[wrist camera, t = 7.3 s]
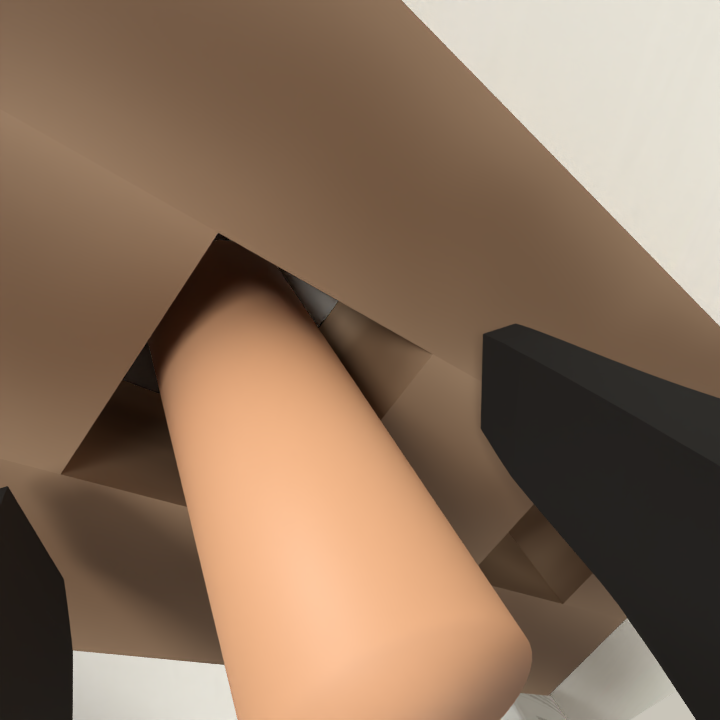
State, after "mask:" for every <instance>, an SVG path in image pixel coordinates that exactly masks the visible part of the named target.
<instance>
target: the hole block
mask: <svg viewBox="0 0 720 720" xmlns="http://www.w3.org/2000/svg"><path fill="white" fill-rule="evenodd" d="M218 233H220V234H221V235H223V236H225V237H227V238H229V239H230V240H232V241H234V242H236V243H237V244H239V245H241V246H243V247H244V248H246V249H248V250H250V251H252V252H253V253H255V254H257V255H259V256H260V257H262V258H264V259H266V260H267V261H269V262H271V263H273V264H274V265H276V266H278V267H280V268H282V269H283V270H285V271H287V272H289V273H290V274H292V275H294V276H296V277H297V278H299V279H301V280H303V281H304V282H306V283H308V284H310V285H312V286H313V287H315V288H317V289H319V290H320V291H322V292H324V293H326V294H327V295H329V296H331V297H333V298H334V299H336V300H338V303H337V304H336V306H335V307H334V308H333V310H332V311H331V312H330V314H329V315H328V317H327V318H326V319H325V321H324V322H323V323H322V325H321V326H320V327H319V330H320V331H321V333H322V334H323V336H324V337H325V339H326V340H327V342H328V343H329V345H330V346H331V348H332V349H333V351H334V352H335V354H336V355H337V357H338V358H339V360H340V361H341V363H342V364H343V366H344V367H345V369H346V370H347V371H348V373H349V374H350V376H351V377H352V379H353V380H354V382H355V383H356V385H357V386H358V388H359V389H360V391H361V392H362V394H363V395H364V397H365V398H366V400H367V401H368V403H369V404H370V406H371V407H372V409H373V410H374V412H375V413H376V415H377V416H378V418H379V419H380V421H381V422H382V424H383V425H384V426H385V428H386V429H387V431H388V432H389V434H390V435H391V437H392V438H393V440H394V441H395V443H396V444H397V446H398V447H399V449H400V450H401V452H402V453H403V455H404V456H405V458H406V459H407V461H408V462H409V464H410V465H411V467H412V468H413V470H414V471H415V473H416V474H417V476H418V477H419V479H420V480H421V481H422V483H423V484H424V486H425V487H426V489H427V490H428V492H429V493H430V495H431V496H432V498H433V499H434V501H435V502H436V504H437V505H438V507H439V508H440V510H441V511H442V513H443V514H444V516H445V517H446V519H447V520H448V522H449V523H450V525H451V526H452V528H453V529H454V531H455V532H456V534H457V535H458V537H459V538H460V539H461V541H462V542H463V544H464V545H465V547H466V548H467V550H468V551H469V553H470V554H471V556H472V557H473V559H474V560H475V562H476V563H477V565H478V566H479V568H480V569H481V571H482V572H483V574H484V575H485V577H486V578H487V580H488V581H489V583H490V584H491V586H492V587H493V589H494V590H495V592H496V593H497V594H498V596H499V597H500V599H501V600H502V602H503V603H504V605H505V606H506V608H507V609H508V611H509V612H510V614H511V615H512V617H513V618H514V620H515V621H516V623H517V624H518V626H519V627H520V629H521V630H522V632H523V633H524V635H525V636H526V638H527V639H528V641H529V643H530V646H531V650H532V664H531V669H530V673H529V676H528V678H527V681H526V683H525V685H524V687H523V689H522V691H521V693H525V694H535V695H546V696H548V695H549V694H550V693H551V692H552V691H553V690H554V689H555V688H556V687H557V686H558V685H559V684H560V683H562V682H563V681H564V680H565V679H566V678H567V677H568V676H569V675H570V674H571V673H572V672H573V671H574V670H575V669H576V668H577V667H578V666H579V665H580V664H581V663H582V662H583V661H584V660H585V659H586V658H587V657H588V656H589V655H590V654H591V653H592V652H593V651H594V650H595V649H596V648H597V647H598V646H599V645H600V644H601V643H602V642H603V641H604V640H605V639H606V638H607V637H608V636H609V635H610V634H611V633H612V632H613V631H614V630H615V629H616V628H617V627H618V626H619V625H620V624H621V623H622V622H623V621H624V620H625V619H626V618H627V617H626V615H625V614H624V612H623V611H622V609H621V608H620V607H619V605H618V604H617V603H616V601H615V600H614V599H613V597H612V596H611V595H610V594H609V592H608V591H607V590H606V589H605V587H604V586H603V585H602V584H601V582H600V581H599V580H598V579H597V577H596V576H595V575H594V574H593V573H592V572H591V570H590V569H589V568H588V567H587V566H586V565H585V563H584V562H583V561H582V560H581V559H580V558H579V556H578V555H577V554H576V553H575V552H574V551H573V549H572V548H571V547H570V546H569V545H568V544H567V542H566V541H565V540H564V539H563V538H562V537H561V535H560V534H559V533H558V532H557V531H556V529H555V528H554V527H553V526H552V525H551V524H550V522H549V521H548V520H547V519H546V518H545V517H544V515H543V514H542V513H541V512H540V511H539V510H538V508H537V507H536V506H535V505H534V504H533V502H532V501H531V500H530V499H529V498H528V496H527V495H526V494H525V493H524V492H523V490H522V489H521V488H520V487H519V486H518V484H517V483H516V482H515V481H514V480H513V478H512V477H511V476H510V474H509V473H508V471H507V470H506V468H505V467H504V465H503V463H502V462H501V460H500V459H499V457H498V456H497V454H496V453H495V451H494V450H493V448H492V446H491V445H490V443H489V441H488V440H487V438H486V437H485V435H484V433H483V432H482V430H481V390H482V351H483V334H484V333H487V332H490V331H493V330H496V329H499V328H503V327H506V326H509V325H512V324H515V323H516V324H519V325H523V326H526V327H529V328H532V329H534V330H537V331H540V332H542V333H545V334H548V335H550V336H553V337H556V338H558V339H561V340H563V341H566V342H568V343H571V344H573V345H576V346H578V347H581V348H583V349H586V350H589V351H591V352H594V353H596V354H599V355H601V356H604V357H606V358H609V359H611V360H614V361H616V362H619V363H622V364H624V365H627V366H629V367H632V368H635V369H637V370H640V371H643V372H645V373H648V374H651V375H653V376H656V377H659V378H662V379H664V380H667V381H670V382H673V383H676V384H678V385H681V386H684V387H687V388H690V389H693V390H696V391H699V392H702V393H705V394H708V395H711V396H714V397H717V398H720V326H719V325H718V324H717V323H716V322H715V321H714V320H713V319H712V318H711V317H710V316H709V315H708V314H707V313H706V312H705V311H704V310H703V309H702V308H701V307H700V306H699V305H698V304H697V303H696V302H695V301H694V300H693V299H692V298H691V297H690V295H689V294H688V293H687V292H686V291H685V290H684V289H683V288H682V287H681V286H680V285H679V284H678V283H677V282H676V281H675V280H674V279H673V278H672V277H671V276H670V275H669V274H668V273H667V272H666V271H665V270H664V269H663V268H662V267H661V266H660V265H659V264H658V263H657V262H656V261H655V260H654V259H653V258H652V257H651V256H650V255H649V253H648V252H647V251H646V250H645V249H644V248H643V247H642V246H641V245H640V244H639V243H638V242H637V241H636V240H635V239H634V238H633V237H632V236H631V235H630V234H629V233H628V232H627V231H626V230H625V229H624V228H623V227H622V226H621V225H620V224H619V223H618V222H617V221H616V220H615V219H614V218H613V217H612V216H611V215H610V214H609V212H608V211H607V210H606V209H605V208H604V207H603V206H602V205H601V204H600V203H599V202H598V201H597V200H596V199H595V198H594V197H593V196H592V195H591V194H590V193H589V192H588V191H587V190H586V189H585V188H584V187H583V186H582V185H581V184H580V183H579V182H578V181H577V180H576V179H575V178H574V177H573V176H572V175H571V174H570V173H569V172H568V170H567V169H566V168H565V167H564V166H563V165H562V164H561V163H560V162H559V161H558V160H557V159H556V158H555V157H554V156H553V155H552V154H551V153H550V152H549V151H548V150H547V149H546V148H545V147H544V146H543V145H542V144H541V143H540V142H539V141H538V140H537V139H536V138H535V137H534V136H533V135H532V134H531V133H530V132H529V131H528V130H527V128H526V127H525V126H524V125H523V124H522V123H521V122H520V121H519V120H518V119H517V118H516V117H515V116H514V115H513V114H512V113H511V112H510V111H509V110H508V109H507V108H506V107H505V106H504V105H503V104H502V103H501V102H500V101H499V100H498V99H497V98H496V97H495V96H494V95H493V94H492V93H491V92H490V91H489V90H488V89H487V87H486V86H485V85H484V84H483V83H482V82H481V81H480V80H479V79H478V78H477V77H476V76H475V75H474V74H473V73H472V72H471V71H470V70H469V69H468V68H467V67H466V66H465V65H464V64H463V63H462V62H461V61H460V60H459V59H458V58H457V57H456V56H455V55H454V54H453V53H452V52H451V51H450V50H449V49H448V48H447V47H446V45H445V44H444V43H443V42H442V41H441V40H440V39H439V38H438V37H437V36H436V35H435V34H434V33H433V32H432V31H431V30H430V29H429V28H428V27H427V26H426V25H425V24H424V23H423V22H422V21H421V20H420V19H419V18H418V17H417V16H416V15H415V14H414V13H413V12H412V11H411V10H410V9H409V8H408V7H407V6H406V5H405V3H404V2H403V1H402V0H0V488H3V487H6V486H8V487H9V489H10V490H11V492H12V494H13V495H14V497H15V499H16V500H17V502H18V504H19V505H20V507H21V509H22V510H23V512H24V514H25V515H26V517H27V519H28V520H29V522H30V524H31V525H32V527H33V529H34V530H35V532H36V534H37V535H38V537H39V539H40V540H41V542H42V544H43V545H44V547H45V549H46V550H47V552H48V554H49V555H50V557H51V558H52V560H53V562H54V563H55V565H56V567H57V568H58V570H59V572H60V573H61V575H62V577H63V578H64V583H65V590H66V597H67V605H68V612H69V620H70V629H71V638H72V647H73V650H75V651H86V652H96V653H107V654H117V655H128V656H138V657H148V658H159V659H169V660H180V661H190V662H201V663H211V664H222V665H225V664H224V660H223V656H222V652H221V647H220V643H219V639H218V635H217V631H216V626H215V622H214V618H213V614H212V610H211V605H210V601H209V597H208V593H207V589H206V584H205V580H204V576H203V572H202V568H201V563H200V559H199V555H198V551H197V547H196V542H195V538H194V534H193V530H192V526H191V521H190V517H189V513H188V509H187V505H186V500H185V496H184V492H183V488H182V484H181V479H180V475H179V471H178V467H177V463H176V458H175V454H174V450H173V446H172V442H171V437H170V433H169V429H168V425H167V420H166V416H165V412H164V408H163V404H162V399H161V395H160V394H159V393H157V392H154V391H151V390H148V389H146V388H143V387H140V386H138V385H135V384H132V383H129V382H127V381H124V380H122V379H123V378H124V376H125V375H126V373H127V372H128V370H129V369H130V367H131V366H132V364H133V362H134V361H135V359H136V358H137V356H138V355H139V353H140V352H141V350H142V349H143V347H144V346H145V344H146V343H147V341H148V340H149V338H150V336H151V335H152V333H153V332H154V330H155V329H156V327H157V326H158V324H159V323H160V321H161V320H162V318H163V317H164V315H165V313H166V312H167V310H168V309H169V307H170V306H171V304H172V303H173V301H174V300H175V298H176V297H177V295H178V294H179V292H180V291H181V289H182V287H183V286H184V284H185V283H186V281H187V280H188V278H189V277H190V275H191V274H192V272H193V271H194V269H195V268H196V266H197V264H198V263H199V261H200V260H201V258H202V257H203V255H204V254H205V252H206V251H207V249H208V248H209V246H210V245H211V243H212V241H213V240H214V238H215V237H216V235H217V234H218Z"/></svg>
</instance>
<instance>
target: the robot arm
mask: <svg viewBox="0 0 720 720" xmlns="http://www.w3.org/2000/svg"><path fill="white" fill-rule="evenodd" d="M481 430H482V432H483V433H484V435H485V437H486V438H487V440H488V441H489V443H490V445H491V446H492V448H493V450H494V451H495V453H496V454H497V456H498V457H499V459H500V460H501V462H502V463H503V465H504V467H505V468H506V470H507V471H508V473H509V474H510V476H511V477H512V478H513V480H514V481H515V482H516V483H517V484H518V486H519V487H520V488H521V489H522V490H523V492H524V493H525V494H526V495H527V496H528V498H529V499H530V500H531V501H532V502H533V504H534V505H535V506H536V507H537V508H538V510H539V511H540V512H541V513H542V514H543V515H544V517H545V518H546V519H547V520H548V521H549V522H550V524H551V525H552V526H553V527H554V528H555V529H556V531H557V532H558V533H559V534H560V535H561V537H562V538H563V539H564V540H565V541H566V542H567V544H568V545H569V546H570V547H571V548H572V549H573V551H574V552H575V553H576V554H577V555H578V556H579V558H580V559H581V560H582V561H583V562H584V563H585V565H586V566H587V567H588V568H589V569H590V570H591V572H592V573H593V574H594V575H595V576H596V577H597V579H598V580H599V581H600V582H601V584H602V585H603V586H604V587H605V589H606V590H607V591H608V592H609V594H610V595H611V596H612V597H613V599H614V600H615V601H616V603H617V604H618V605H619V607H620V608H621V609H622V611H623V612H624V614H625V615H626V617H627V618H628V619H629V621H630V622H631V624H632V625H633V627H634V628H635V629H636V631H637V632H638V634H639V635H640V637H641V638H642V640H643V641H644V642H645V644H646V645H647V647H648V648H649V650H650V651H651V652H652V654H653V655H654V657H655V658H656V660H657V661H658V663H659V664H660V666H661V667H662V669H663V670H664V672H665V673H666V675H667V676H668V678H669V679H670V681H671V682H672V684H673V685H674V687H675V688H676V690H677V692H678V693H679V694H680V696H681V698H682V699H683V701H684V702H685V704H686V705H687V707H688V708H689V710H690V711H691V713H692V714H693V716H694V717H695V719H696V720H720V398H717V397H714V396H711V395H708V394H705V393H702V392H699V391H696V390H693V389H690V388H687V387H684V386H681V385H678V384H676V383H673V382H670V381H667V380H664V379H662V378H659V377H656V376H653V375H651V374H648V373H645V372H643V371H640V370H637V369H635V368H632V367H629V366H627V365H624V364H622V363H619V362H616V361H614V360H611V359H609V358H606V357H604V356H601V355H599V354H596V353H594V352H591V351H589V350H586V349H583V348H581V347H578V346H576V345H573V344H571V343H568V342H566V341H563V340H561V339H558V338H556V337H553V336H550V335H548V334H545V333H542V332H540V331H537V330H534V329H532V328H529V327H526V326H523V325H519V324H516V323H515V324H512V325H509V326H506V327H503V328H499V329H496V330H493V331H490V332H487V333H484V334H483V351H482V390H481ZM72 713H73V647H72V638H71V629H70V620H69V612H68V605H67V597H66V590H65V583H64V578H63V577H62V575H61V573H60V572H59V570H58V568H57V567H56V565H55V563H54V562H53V560H52V558H51V557H50V555H49V554H48V552H47V550H46V549H45V547H44V545H43V544H42V542H41V540H40V539H39V537H38V535H37V534H36V532H35V530H34V529H33V527H32V525H31V524H30V522H29V520H28V519H27V517H26V515H25V514H24V512H23V510H22V509H21V507H20V505H19V504H18V502H17V500H16V499H15V497H14V495H13V494H12V492H11V490H10V489H9V487H8V486H6V487H3V488H0V720H72Z"/></svg>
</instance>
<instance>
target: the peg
mask: <svg viewBox="0 0 720 720" xmlns="http://www.w3.org/2000/svg"><path fill="white" fill-rule="evenodd" d="M148 345H149V349H150V353H151V357H152V362H153V366H154V370H155V374H156V378H157V383H158V387H159V391H160V395H161V399H162V404H163V408H164V412H165V416H166V420H167V425H168V429H169V433H170V437H171V442H172V446H173V450H174V454H175V458H176V463H177V467H178V471H179V475H180V479H181V484H182V488H183V492H184V496H185V500H186V505H187V509H188V513H189V517H190V521H191V526H192V530H193V534H194V538H195V542H196V547H197V551H198V555H199V559H200V563H201V568H202V572H203V576H204V580H205V584H206V589H207V593H208V597H209V601H210V605H211V610H212V614H213V618H214V622H215V626H216V631H217V635H218V639H219V643H220V647H221V652H222V656H223V660H224V664H225V668H226V673H227V677H228V681H229V685H230V689H231V694H232V698H233V702H234V706H235V710H236V715H237V719H238V720H500V719H501V718H502V717H503V716H504V715H505V714H506V712H507V711H508V710H509V709H510V707H511V706H512V705H513V703H514V702H515V700H516V699H517V697H518V696H519V694H520V693H521V691H522V689H523V687H524V685H525V683H526V681H527V678H528V676H529V673H530V669H531V664H532V650H531V646H530V643H529V641H528V639H527V638H526V636H525V635H524V633H523V632H522V630H521V629H520V627H519V626H518V624H517V623H516V621H515V620H514V618H513V617H512V615H511V614H510V612H509V611H508V609H507V608H506V606H505V605H504V603H503V602H502V600H501V599H500V597H499V596H498V594H497V593H496V592H495V590H494V589H493V587H492V586H491V584H490V583H489V581H488V580H487V578H486V577H485V575H484V574H483V572H482V571H481V569H480V568H479V566H478V565H477V563H476V562H475V560H474V559H473V557H472V556H471V554H470V553H469V551H468V550H467V548H466V547H465V545H464V544H463V542H462V541H461V539H460V538H459V537H458V535H457V534H456V532H455V531H454V529H453V528H452V526H451V525H450V523H449V522H448V520H447V519H446V517H445V516H444V514H443V513H442V511H441V510H440V508H439V507H438V505H437V504H436V502H435V501H434V499H433V498H432V496H431V495H430V493H429V492H428V490H427V489H426V487H425V486H424V484H423V483H422V481H421V480H420V479H419V477H418V476H417V474H416V473H415V471H414V470H413V468H412V467H411V465H410V464H409V462H408V461H407V459H406V458H405V456H404V455H403V453H402V452H401V450H400V449H399V447H398V446H397V444H396V443H395V441H394V440H393V438H392V437H391V435H390V434H389V432H388V431H387V429H386V428H385V426H384V425H383V424H382V422H381V421H380V419H379V418H378V416H377V415H376V413H375V412H374V410H373V409H372V407H371V406H370V404H369V403H368V401H367V400H366V398H365V397H364V395H363V394H362V392H361V391H360V389H359V388H358V386H357V385H356V383H355V382H354V380H353V379H352V377H351V376H350V374H349V373H348V371H347V370H346V369H345V367H344V366H343V364H342V363H341V361H340V360H339V358H338V357H337V355H336V354H335V352H334V351H333V349H332V348H331V346H330V345H329V343H328V342H327V340H326V339H325V337H324V336H323V334H322V333H321V331H320V330H319V328H318V327H317V325H316V324H315V322H314V321H313V319H312V318H311V316H310V315H309V313H308V312H307V311H306V309H305V308H304V306H303V305H302V303H301V302H300V300H299V299H298V297H297V296H296V294H295V293H294V291H293V290H292V288H291V287H290V285H289V284H288V282H287V281H286V279H285V278H284V276H283V275H282V273H281V272H280V270H279V269H278V267H277V266H276V265H274V264H273V263H271V262H269V261H267V260H266V259H264V258H262V257H260V256H259V255H257V254H255V253H253V252H252V251H250V250H248V249H246V248H244V247H243V246H241V245H239V244H237V243H236V242H234V241H225V240H216V241H212V243H211V245H210V246H209V248H208V249H207V251H206V252H205V254H204V255H203V257H202V258H201V260H200V261H199V263H198V264H197V266H196V268H195V269H194V271H193V272H192V274H191V275H190V277H189V278H188V280H187V281H186V283H185V284H184V286H183V287H182V289H181V291H180V292H179V294H178V295H177V297H176V298H175V300H174V301H173V303H172V304H171V306H170V307H169V309H168V310H167V312H166V313H165V315H164V317H163V318H162V320H161V321H160V323H159V324H158V326H157V327H156V329H155V330H154V332H153V333H152V335H151V336H150V338H149V340H148Z"/></svg>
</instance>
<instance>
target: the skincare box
mask: <svg viewBox="0 0 720 720" xmlns="http://www.w3.org/2000/svg"><path fill="white" fill-rule="evenodd" d="M500 720H567V718H566V717H565V715H564V714H563V713H562V711H561V710H560V708H559V706H558V705H557V703H556V702H555V700H554V699H553V698H552V696H550V695H548V696H546V695H535V694H525V693H520V694H519V696H518V697H517V699H516V700H515V702H514V703H513V705H512V706H511V707H510V709H509V710H508V711H507V712H506V714H505V715H504V716H503V717H502V718H501V719H500Z"/></svg>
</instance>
